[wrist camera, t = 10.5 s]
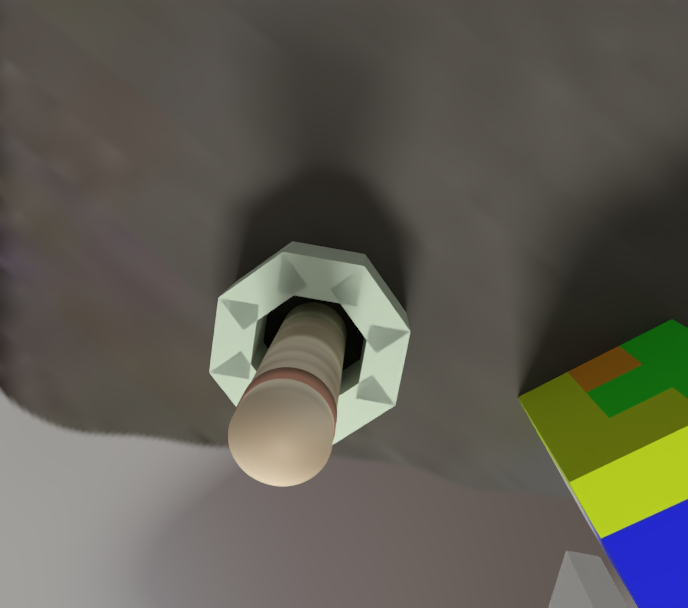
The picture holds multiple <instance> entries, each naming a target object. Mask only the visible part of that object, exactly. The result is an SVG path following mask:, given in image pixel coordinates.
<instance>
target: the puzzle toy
mask: <svg viewBox="0 0 688 608" xmlns="http://www.w3.org/2000/svg"><path fill="white" fill-rule="evenodd" d="M518 399H519V401H520V402H521V404H522V406H523V408H524V410H525V411H526V413H527V415H528V417H529V418H530V420H531V422H532V424H533V426H534V427H535V429H536V431H537V433H538V435H539V436H540V438H541V440H542V442H543V443H544V445H545V447H546V449H547V451H548V452H549V454H550V456H551V458H552V460H553V461H554V463H555V465H556V467H557V468H558V470H559V472H560V474H561V476H562V477H563V479H564V481H565V483H566V485H567V486H568V488H569V490H570V492H571V493H572V495H573V497H574V499H575V501H576V502H577V504H578V506H579V508H580V510H581V511H582V513H583V515H584V517H585V518H586V520H587V522H588V524H589V525H590V527H591V529H592V530H593V532H594V534H595V536H596V537H597V539H598V541H599V542H600V544H601V545H602V547H603V549H604V551H605V553H606V554H607V556H608V558H609V559H610V561H611V562H612V564H613V566H614V568H615V569H616V571H617V573H618V574H619V576H620V578H621V579H622V581H623V583H624V585H625V586H626V588H627V590H628V591H629V593H630V595H631V596H632V598H633V600H634V601H635V603H636V605H637V607H638V608H688V328H687V327H685V326H684V325H682V324H680V323H678V322H676V321H674V320H672V319H671V320H669V321H667V322H665V323H663V324H661V325H659V326H657V327H655V328H653V329H651V330H649V331H647V332H645V333H643V334H641V335H639V336H637V337H635V338H633V339H631V340H629V341H628V342H626V343H624V344H622V345H620V346H618V347H616V348H614V349H612V350H610V351H608V352H606V353H604V354H602V355H600V356H598V357H596V358H594V359H592V360H590V361H588V362H586V363H584V364H582V365H580V366H578V367H576V368H574V369H572V370H571V371H569V372H567V373H565V374H563V375H561V376H559V377H557V378H555V379H553V380H551V381H549V382H547V383H545V384H543V385H541V386H539V387H537V388H535V389H533V390H531V391H529V392H527V393H525V394H523V395H521V396H519V397H518Z"/></svg>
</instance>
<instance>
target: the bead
mask: <svg viewBox="0 0 688 608" xmlns="http://www.w3.org/2000/svg"><path fill="white" fill-rule="evenodd" d="M293 295H295V296H301V297H307V298H312V299H318V300H324V301H329V302H335V303H340V304H341V305H342V307H343V308H344V310H345V311H346V312H347V314H348V315H349V316H350V318H351V319H352V321H353V322H354V323H355V325H356V326H357V328H358V329H359V330H360V332H361V333H362V334H363V336H364V341H363V346H362V352H361V357H360V360H358V361H357V362H355V363H354V364H352V365H350V366H349V367H347V368H346V369H344V370H343V371H342V376H341V383H340V390H339V398H338V405H337V422H336V429H335V436H334V440H333V443H332V445H333V444H335V443H337V442H338V441H340V440H341V439H343V438H344V437H346V436H348V435H349V434H351V433H352V432H354V431H356V430H357V429H359V428H360V427H362V426H363V425H365V424H367V423H368V422H370V421H371V420H373V419H375V418H376V417H378V416H379V415H381V414H382V413H384V412H386V411H387V410H389V409H390V408H392V407H394V406H395V404H396V399H397V395H398V390H399V385H400V380H401V375H402V370H403V366H404V361H405V356H406V351H407V346H408V341H409V336H410V327H409V323H408V318H407V314H406V312H405V310H404V309H403V307H402V306H401V304H400V303H399V302H398V300H397V299H396V297H395V296H394V294H393V293H392V292H391V290H390V289H389V287H388V286H387V284H386V283H385V282H384V280H383V279H382V277H381V276H380V275H379V273H378V272H377V270H376V269H375V267H374V266H373V265H372V263H371V262H370V260H369V259H368V257H367V256H366V255H365V254H362V253H357V252H351V251H345V250H340V249H334V248H328V247H323V246H317V245H311V244H306V243H300V242H294V241H292V242H291V243H289V244H288V245H287V246H285V247H284V248H282V249H281V250H280V251H278V252H277V253H275V254H274V255H273V256H271V257H270V258H268V259H267V260H266V261H264V262H263V263H261V264H260V265H259V266H257V267H256V268H254V269H253V270H251V271H250V272H249V273H247V274H246V275H244V276H243V277H242V278H240V279H239V280H237V281H236V282H235V283H234V284H233V285H231V286H230V287H229V288H228V289H227V290H226V291H225V292H224V293H223V294H222V295H221V296H220V297H219V298H218V305H217V313H216V321H215V329H214V338H213V346H212V354H211V362H210V370H209V373H210V374H211V375H212V377H213V378H214V379H215V381H216V382H217V383H218V384H219V386H220V387H221V388H222V389H223V391H224V392H225V393H226V394H227V396H228V397H229V398H230V400H231V401H232V402H233V403H234V405H235V406H236V407H237V405H238V403H239V401H240V399H241V397H242V396H243V394H244V392H245V390H246V388H247V387H248V385H249V384H250V383H251V381H252V379H253V377H254V376H255V374H256V372H257V370H258V368H259V366H260V364H261V362H262V360H263V359H264V357H265V355H266V353H267V351H268V348H267V346H266V345H265V344H264V335H265V328H266V321H267V314H268V313H269V312H270V311H272V310H273V309H275V308H276V307H278V306H279V305H281V304H282V303H283V302H285V301H286V300H288V299H289V298H291V297H292V296H293Z"/></svg>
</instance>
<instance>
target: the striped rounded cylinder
mask: <svg viewBox="0 0 688 608" xmlns="http://www.w3.org/2000/svg"><path fill="white" fill-rule="evenodd" d="M346 338H347V331H346V326H345V323H344V321H343V319H342V317H341V316H340V315H339V313H338V312H337V311H336V310H334V309H333V308H332V307H330V306H328V305H326V304H323V303H318V302H308V303H304V304H301V305H298V306H297V307H295V308H294V309H292V310H291V311H290V312H289V313H288V314H287V316H286V317H285V319H284V321H283V323H282V325H281V327H280V328H279V330H278V332H277V334H276V336H275V338H274V340H273V342H272V344H271V345H270V347H269V349H268V351H267V353H266V355H265V357H264V359H263V360H262V362H261V364H260V366H259V368H258V370H257V372H256V374H255V376H254V377H253V379H252V381H251V383H250V384H249V385H248V387H247V388H246V390H245V392H244V394H243V396H242V397H241V399H240V401H239V403H238V405H237V408H236V410H235V413H234V415H233V417H232V419H231V422H230V425H229V430H228V442H229V447H230V450H231V453H232V455H233V457H234V459H235V461H236V462H237V464H238V465H239V466H240V467H241V469H242V470H243V471H244V472H246V473H247V474H248V475H249V476H251V477H253V478H254V479H256V480H258V481H260V482H262V483H265V484H269V485H273V486H292V485H297V484H300V483H302V482H305V481H307V480H309V479H311V478H312V477H314V476H315V475H316V474H317V473H318V472H319V471H320V470H321V469H322V468H323V467H324V466H325V464H326V462H327V460H328V458H329V456H330V453H331V449H332V443H333V440H334V436H335V429H336V422H337V405H338V398H339V390H340V383H341V376H342V368H343V361H344V353H345V346H346Z"/></svg>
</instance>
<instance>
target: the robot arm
mask: <svg viewBox="0 0 688 608" xmlns="http://www.w3.org/2000/svg"><path fill="white" fill-rule="evenodd" d="M549 608H628V607H627V605H626V604H625V602H624V600H623V598H622V596H621V594H620V593H619V591H618V589H617V587H616V585H615V584H614V582H613V580H612V578H611V576H610V575H609V573H608V571H607V569H606V567H605V566H604V564H603V562H602V560H601V558H600V557H598V556H593V555H587V554H582V553H576V552H571V551H566V553H565V556H564V560H563V563H562V566H561V569H560V572H559V576H558V579H557V582H556V585H555V588H554V591H553V595H552V598H551V601H550V604H549Z"/></svg>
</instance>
